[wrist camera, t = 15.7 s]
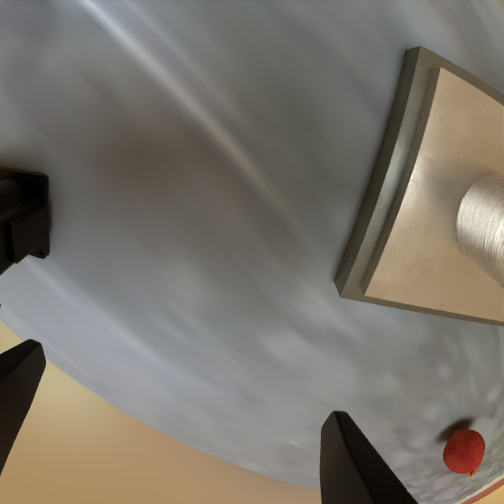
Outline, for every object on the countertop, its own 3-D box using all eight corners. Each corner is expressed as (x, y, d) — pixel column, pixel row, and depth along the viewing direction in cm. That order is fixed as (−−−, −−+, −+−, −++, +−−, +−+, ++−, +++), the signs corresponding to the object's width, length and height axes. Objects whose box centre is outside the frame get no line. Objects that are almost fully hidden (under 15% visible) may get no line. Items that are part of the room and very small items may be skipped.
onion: (481, 413, 30) (502, 458, 23) (460, 438, 32) (477, 481, 25) (449, 420, 30) (470, 470, 23) (429, 445, 32) (444, 492, 25)
